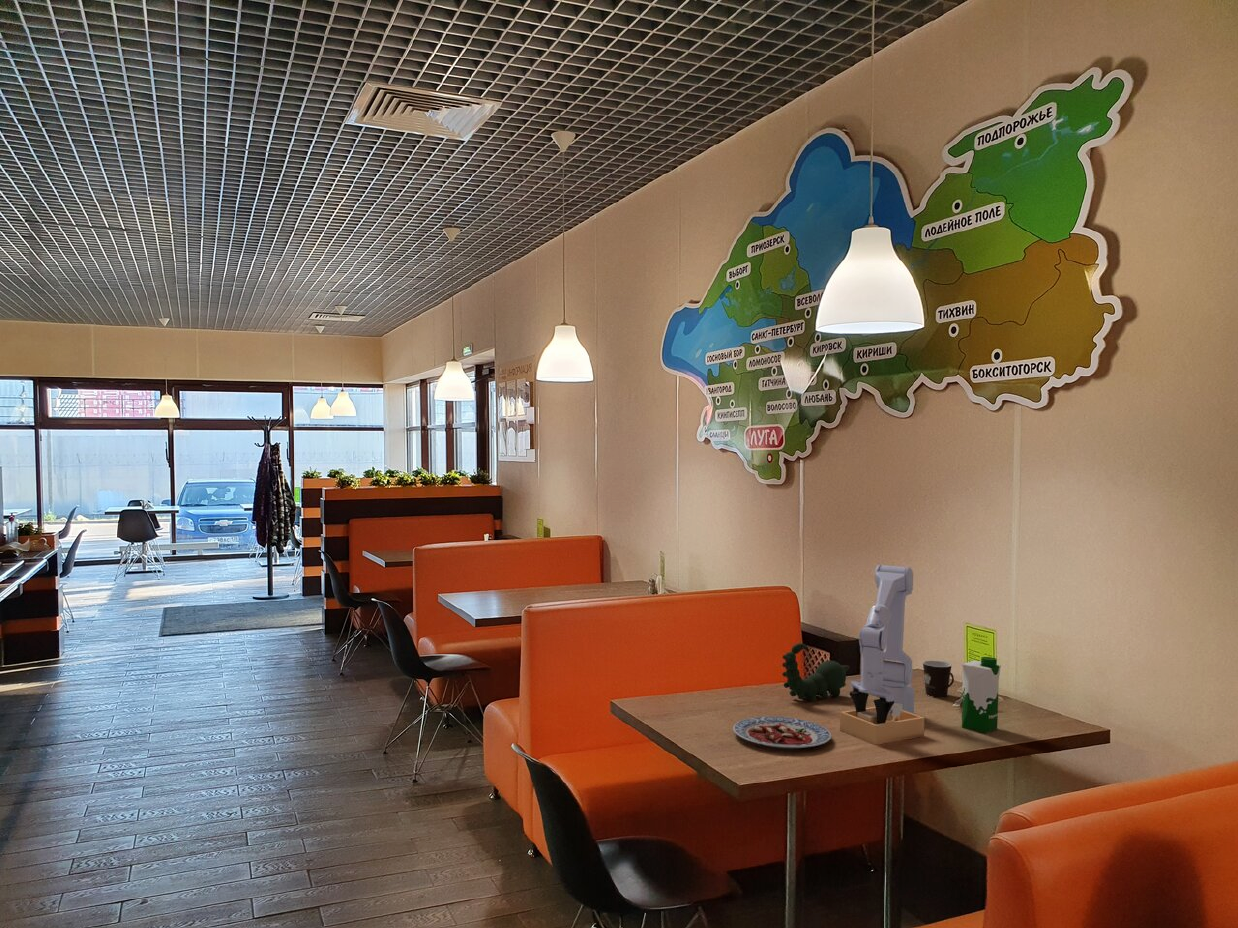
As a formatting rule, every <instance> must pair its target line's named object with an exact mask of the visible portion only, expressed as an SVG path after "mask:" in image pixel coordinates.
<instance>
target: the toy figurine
mask: <svg viewBox="0 0 1238 928" xmlns="http://www.w3.org/2000/svg"><path fill="white" fill-rule="evenodd" d="M802 650H805V651H808V650H809V648H808V647H807V645H806V644H804V643H801V642H799V643H795V644H794V645H793V646H792V647H791V651H787V652H786V653H785V654H783V655H782V659H783V660H785V662H782V664H781V665H782V667H783V668H785V669H786V670H785V671H783V672H782V676H783V677H784V678H786V679H787V680H786V681H785V682H783V687H784V688H785V689H787V688H788V689H789V690H790V691H789V694H790V695H789V696H791V697H796V696H797V699H798V700H804V699H807V700H809V701H811V702H815V701H816V700H817V696H819V697H820V698H821V699H827V698H828V697H829V695H830V696H831V695H832V696H831V697H838V696H839V695H840V694H841V689H842V688H844V687H845V686H846V680H847V673H846V672H847V671H848V670H849V669H850V667H851V666H850V665H841V664H840V663H839V662H837V661H834V660H825V661H823V662H822V663H819V665H818V666H817V667H816V670H815V672H814V673H811V674H810V675H809V676H808V677H806V678H802V676H801V674H800V670H799V669H798V667H799V664H798V662H797V656H796V655H797V654H799V653H800V652H801V651H802Z"/></svg>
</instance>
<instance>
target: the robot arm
mask: <svg viewBox="0 0 1238 928" xmlns="http://www.w3.org/2000/svg"><path fill="white" fill-rule="evenodd" d="M874 582H875V584H876V588H877V589H878V591H877V592H878V593H877V597H876V602H875V605H873V606H872V607H870V609H869V612H868V613H869V614H868V616H867V620H866V624H865V626H864V627H861V628H860V631H859V635H858V643H859V652H860V655H861V668H860V669H861V671H860V673H861V674H860V681H858V680H854V681H853V680H852V681H850V688H849V689H851V690H852V691H851V690H850V691H849V696H850V698H851V699H852V702H853V704H854V708H855V709H854V710H856V713H857V712H863V711H866V708H867V704H868V703H867V702H868V698H869V695H871V696H874V697H876V699H873V703H874V707H876V713H877V724H883V723H885V722H886V719H887V716H888V713H889V711H890V709H891V707H892V706H893V704H894V701H898V702H901V703H902V710H904V711H907V712H910V713H912V714H915V715H917V714H916V712H915V690H914V688H913V686H912V685H911V683H912V681H913V676H914V670H913V669H914V668H913V660H912V657H910V656H909V655H908V654H907V653H906V652H905V651H904V630H905V609H906V608H905V607H906V599H907V596H909V595H912V593H913V586H914V571H913V569H912V567H910V566H898V565H897V566H895V565H883V564H878V565H877V566H876V568H875V570H874Z"/></svg>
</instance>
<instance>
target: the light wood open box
mask: <svg viewBox="0 0 1238 928" xmlns="http://www.w3.org/2000/svg"><path fill="white" fill-rule="evenodd" d="M870 710H872V711H875V712H876V707H875V706H871V707H866V711H870ZM839 713H840V714H839V715H840V717H839V720H840V721H839V723H840V724H839V731H841V732H843V731H844V732H843V733H846V734H849V735H851V736H853V737H856V738H858V737H859V738H858V739H860V738H861V739H860V740H863V741H865V742H868V743H870V744H873V745H875V746H876V745H881V744H888V743H893V742H899V741H905V740H909V739H916V738H920V737H921V738H923V737H925V717H923V716H921V715H918V714H916V715H915V714H912V713H910V712H907V711H904V710H902V720H901V721H895V722H889V723H883V724H877V725H876V724H873V723H870V722H868V721H865V720H863V719H860V718H858V717H857V713H856V709H852V710H845V711H844V710H843V711H840V712H839Z"/></svg>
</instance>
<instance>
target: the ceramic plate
mask: <svg viewBox="0 0 1238 928" xmlns="http://www.w3.org/2000/svg"><path fill="white" fill-rule="evenodd" d="M732 730H733V732H734V734H735V735H736V736H738V737H739V738H741V739H743V740H744V741H745V740H746V741H748V742H751V743H754V744H758V745H761V744H762V746H765V747H769V748H775V749H787V750H788V749H793V750H794V749H802V748H803V749H805V748H810V747H816V746H821V745H823V744H826V743H828V742H829V741H831V738H832V733H831V731H830V730H828V729H827V728H826V727H824V726H822V725H820V724H817V723H815V722H812V721H808V720H804V719H799V718H792V717H784V716H757V717H749V718H745V719H742V720H739V721H737V722H735V724H733V727H732Z"/></svg>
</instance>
